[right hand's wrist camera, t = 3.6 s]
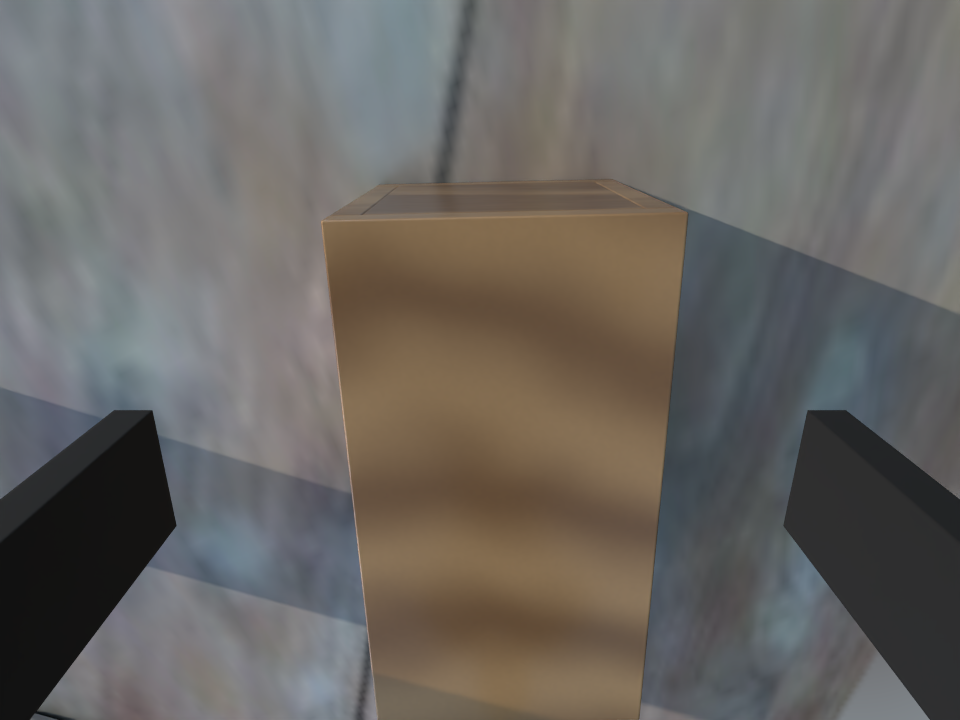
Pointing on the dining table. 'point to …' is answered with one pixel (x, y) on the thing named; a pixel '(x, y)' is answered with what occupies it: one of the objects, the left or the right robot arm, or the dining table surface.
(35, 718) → the wall clock
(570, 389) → the cabinet
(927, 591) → the right robot arm
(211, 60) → the dining table surface
